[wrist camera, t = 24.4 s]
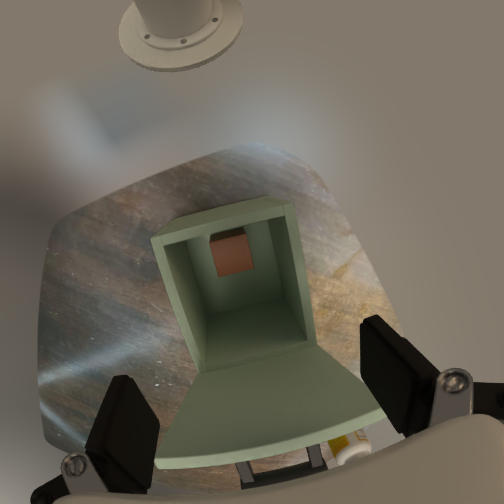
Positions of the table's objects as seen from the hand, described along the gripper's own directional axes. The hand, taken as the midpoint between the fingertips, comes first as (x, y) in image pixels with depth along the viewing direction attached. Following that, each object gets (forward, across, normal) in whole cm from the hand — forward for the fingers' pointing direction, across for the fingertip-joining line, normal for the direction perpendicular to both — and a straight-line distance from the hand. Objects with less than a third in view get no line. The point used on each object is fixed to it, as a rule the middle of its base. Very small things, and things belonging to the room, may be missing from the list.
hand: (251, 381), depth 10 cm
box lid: (+6, 0, +6) cm, 9 cm away
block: (+24, 0, +1) cm, 24 cm away
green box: (+25, 0, +3) cm, 25 cm away
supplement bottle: (+25, -11, +39) cm, 47 cm away
